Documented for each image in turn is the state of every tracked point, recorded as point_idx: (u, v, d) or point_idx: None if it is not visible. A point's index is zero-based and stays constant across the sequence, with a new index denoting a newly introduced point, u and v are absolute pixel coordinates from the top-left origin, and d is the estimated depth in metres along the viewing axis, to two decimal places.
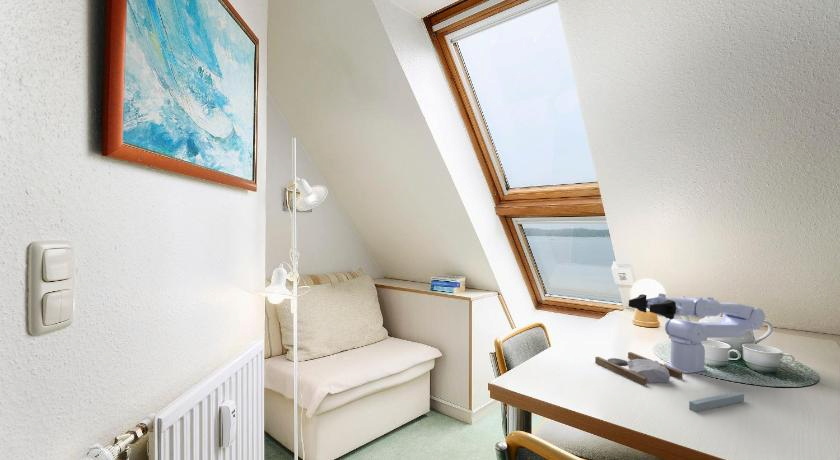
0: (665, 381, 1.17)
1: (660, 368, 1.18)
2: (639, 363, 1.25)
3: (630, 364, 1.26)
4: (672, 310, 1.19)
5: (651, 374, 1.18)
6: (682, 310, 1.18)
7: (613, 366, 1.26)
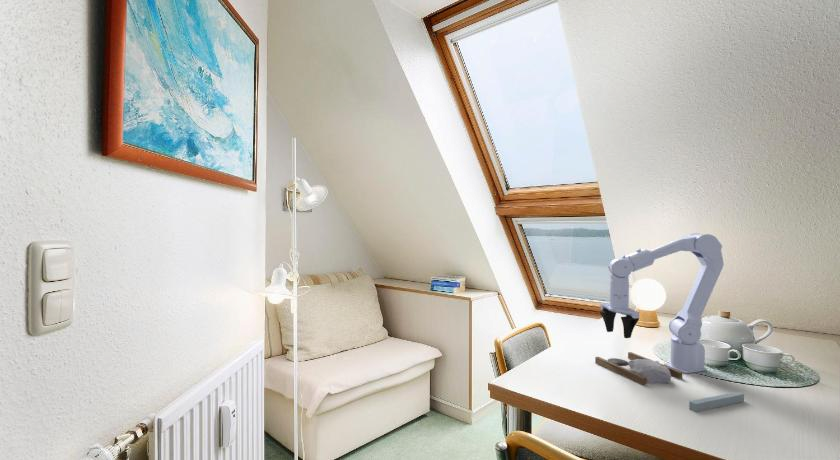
0: (666, 381, 1.17)
1: (661, 368, 1.18)
2: (640, 363, 1.24)
3: (631, 364, 1.25)
4: None
5: (652, 374, 1.18)
6: (636, 314, 1.26)
7: (613, 366, 1.26)
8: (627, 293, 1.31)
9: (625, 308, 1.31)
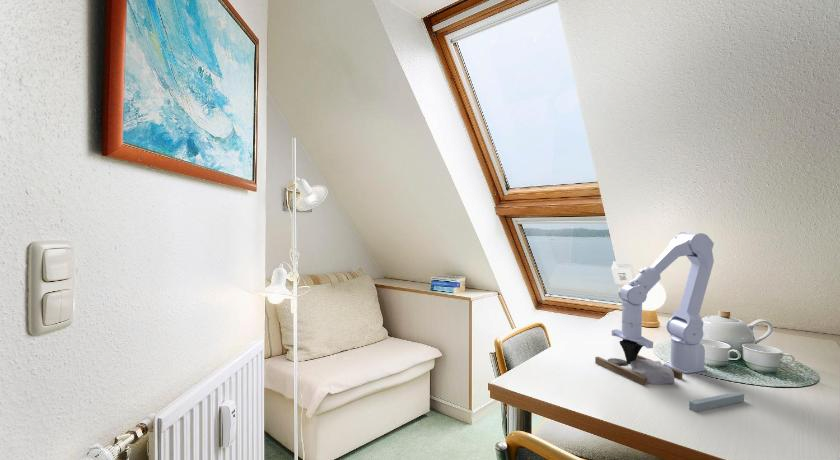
0: (670, 382, 1.16)
1: (665, 369, 1.17)
2: (642, 364, 1.24)
3: (633, 365, 1.24)
4: None
5: (656, 375, 1.17)
6: (650, 344, 1.22)
7: (613, 366, 1.26)
8: (641, 321, 1.27)
9: (638, 337, 1.26)
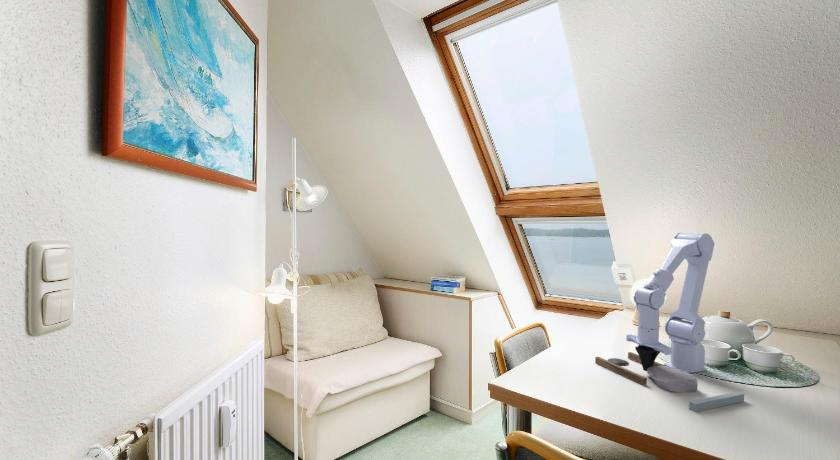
0: (694, 389, 1.11)
1: (688, 375, 1.12)
2: (661, 371, 1.18)
3: (652, 372, 1.18)
4: None
5: (680, 383, 1.11)
6: (668, 350, 1.16)
7: (613, 366, 1.26)
8: None
9: (655, 342, 1.20)
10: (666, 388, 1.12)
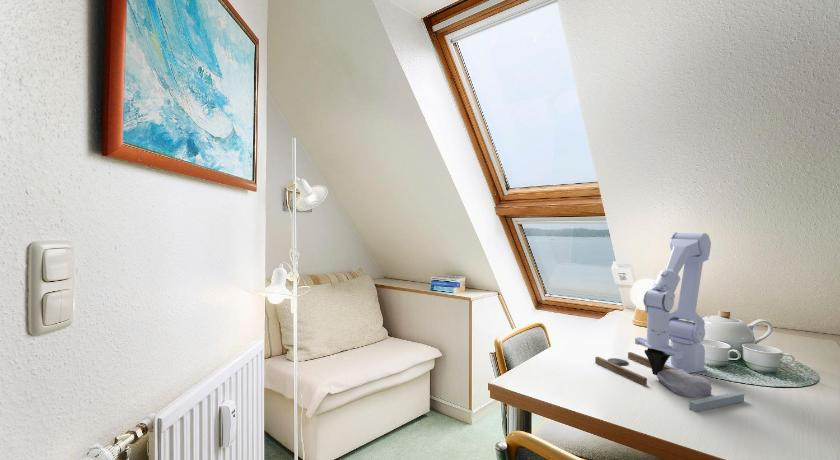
0: (708, 393, 1.09)
1: (702, 379, 1.10)
2: (672, 375, 1.15)
3: (664, 377, 1.15)
4: None
5: (696, 388, 1.08)
6: (679, 354, 1.13)
7: (613, 366, 1.26)
8: None
9: (665, 346, 1.17)
10: (682, 393, 1.08)
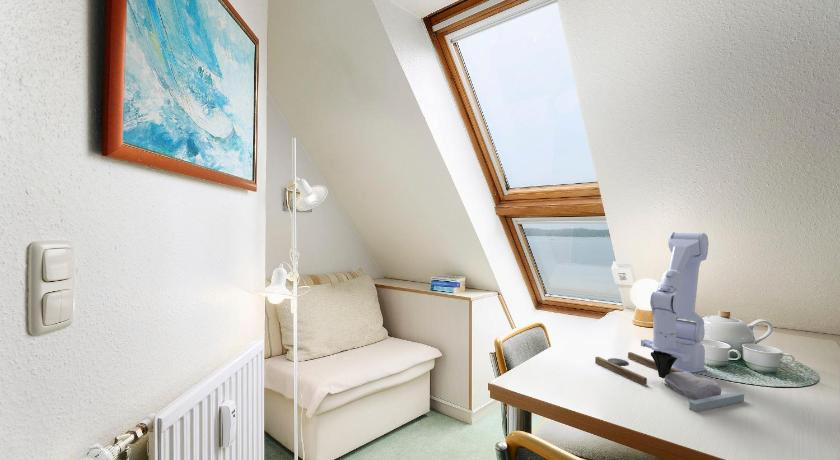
0: None
1: (712, 382, 1.08)
2: (681, 378, 1.13)
3: (673, 381, 1.13)
4: None
5: (707, 391, 1.07)
6: (686, 356, 1.11)
7: (613, 366, 1.26)
8: None
9: (672, 348, 1.15)
10: (694, 397, 1.06)
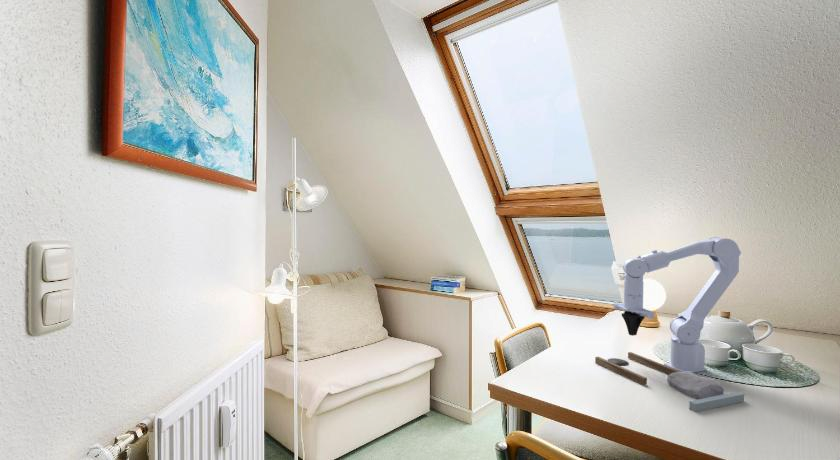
0: None
1: (714, 381, 1.09)
2: (684, 378, 1.13)
3: (676, 381, 1.13)
4: None
5: (710, 390, 1.07)
6: (651, 314, 1.26)
7: (613, 366, 1.26)
8: (641, 293, 1.30)
9: (640, 308, 1.30)
10: (697, 397, 1.07)
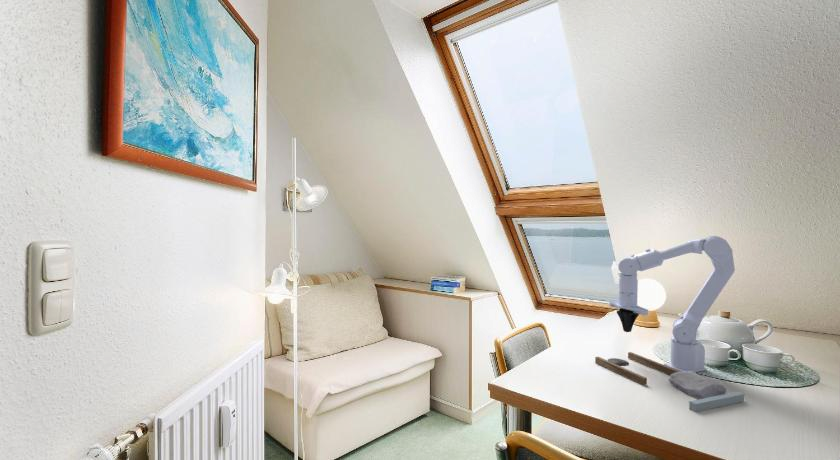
0: None
1: (716, 381, 1.09)
2: (685, 378, 1.13)
3: (678, 380, 1.13)
4: None
5: (712, 390, 1.07)
6: (645, 311, 1.30)
7: (613, 366, 1.26)
8: (634, 291, 1.34)
9: (634, 306, 1.34)
10: (699, 397, 1.07)
